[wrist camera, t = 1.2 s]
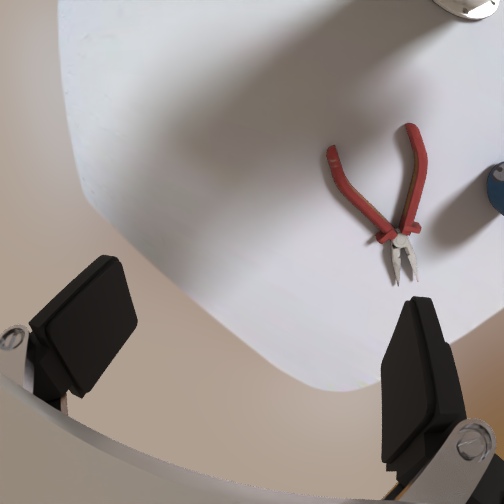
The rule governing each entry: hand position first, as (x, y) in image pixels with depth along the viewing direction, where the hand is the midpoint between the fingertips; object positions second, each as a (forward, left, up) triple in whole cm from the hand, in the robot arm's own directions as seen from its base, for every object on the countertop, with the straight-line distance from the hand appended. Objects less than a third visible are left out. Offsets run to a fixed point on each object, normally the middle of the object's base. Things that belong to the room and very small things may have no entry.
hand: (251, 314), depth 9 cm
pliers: (-4, +10, -30) cm, 32 cm away
